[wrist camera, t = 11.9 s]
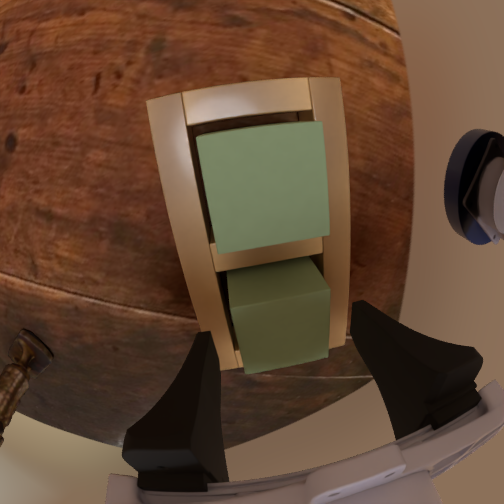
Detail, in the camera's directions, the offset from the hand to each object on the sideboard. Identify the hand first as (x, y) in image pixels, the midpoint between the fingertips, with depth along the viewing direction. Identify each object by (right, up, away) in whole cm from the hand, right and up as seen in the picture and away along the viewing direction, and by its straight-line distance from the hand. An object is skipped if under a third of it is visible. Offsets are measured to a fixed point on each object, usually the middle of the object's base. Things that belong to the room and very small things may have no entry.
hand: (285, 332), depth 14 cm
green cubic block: (-2, +8, +1) cm, 9 cm away
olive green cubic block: (-1, +2, +4) cm, 5 cm away
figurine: (-21, -5, +5) cm, 22 cm away
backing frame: (-1, +5, +3) cm, 6 cm away
